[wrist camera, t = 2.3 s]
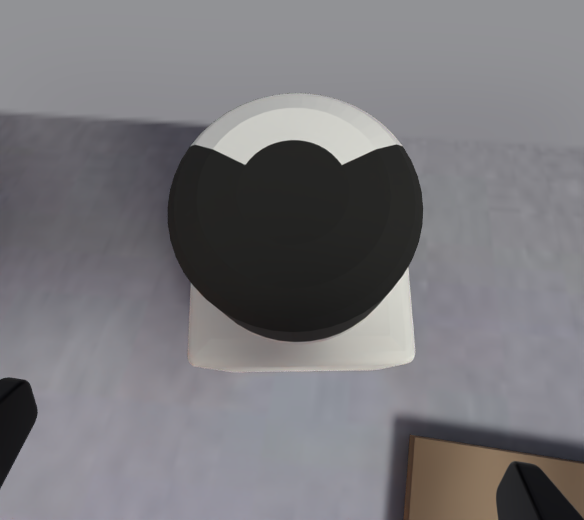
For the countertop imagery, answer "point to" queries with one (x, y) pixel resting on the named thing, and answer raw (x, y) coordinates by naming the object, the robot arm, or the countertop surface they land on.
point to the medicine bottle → (297, 238)
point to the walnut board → (473, 479)
